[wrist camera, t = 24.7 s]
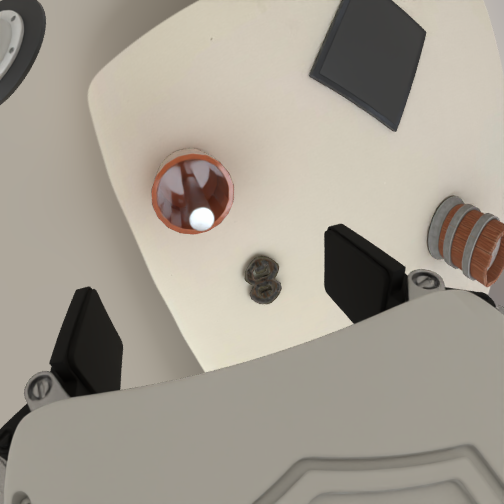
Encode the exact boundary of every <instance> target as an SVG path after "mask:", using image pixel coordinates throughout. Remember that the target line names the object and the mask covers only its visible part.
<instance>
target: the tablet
mask: <svg viewBox="0 0 504 504" xmlns="http://www.w3.org/2000/svg"><path fill="white" fill-rule="evenodd" d="M425 36H426V31H425V30H424V29H423V28H422V27H421V26H420V25H419V24H418V23H417V22H416V21H414V20H413V19H412V18H411V17H410V16H409V15H408V14H407V13H406V12H405V11H404V10H402V9H401V8H400V7H399V6H398V5H397V4H395V3H394V2H393V1H392V0H342V1H341V4H340V6H339V8H338V10H337V13H336V15H335V17H334V19H333V22H332V24H331V26H330V29H329V31H328V33H327V35H326V38H325V40H324V42H323V45H322V47H321V49H320V51H319V54H318V56H317V58H316V61H315V63H314V65H313V68H312V70H311V72H310V75H309V76H310V77H311V78H313V79H315V80H317V81H319V82H320V83H322V84H324V85H325V86H327V87H329V88H330V89H332V90H334V91H335V92H337V93H339V94H340V95H342V96H343V97H345V98H347V99H348V100H350V101H351V102H353V103H354V104H356V105H357V106H359V107H360V108H362V109H363V110H365V111H366V112H368V113H369V114H370V115H372V116H373V117H375V118H376V119H377V120H379V121H380V122H381V123H383V124H384V125H386V126H387V127H388V128H389V129H391V130H392V131H395V132H396V131H397V128H398V125H399V123H400V120H401V117H402V114H403V111H404V108H405V105H406V102H407V99H408V96H409V93H410V90H411V86H412V83H413V80H414V77H415V73H416V70H417V66H418V63H419V59H420V55H421V52H422V48H423V44H424V40H425Z"/></svg>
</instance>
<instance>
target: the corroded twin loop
mask: <svg viewBox="0 0 504 504" xmlns="http://www.w3.org/2000/svg"><path fill="white" fill-rule="evenodd" d="M266 265H267V267H268V272H269V274H268V275H266V276H263V277H260V278H258V279H254V275H253V271H254V269H255V272H256V274H260V273H263V272H265V271H266ZM278 270H279V265H278V264H277V263H276V262H275V261H274V260H272V259H270V258H268V257H263V256H260V257H257V258H255V259H254V260H253V261H252V262H251V263H250V265H249V266H248V268H247V269H246V271H245V281H246V282H248V283H249V284H251V285H254V286H253V289H252V290H251V292H250V296H251V299H252V300H254V301H255V302H257V303H259V304H270V303H272V302H273V301H274V300H275V299H276V298H277V297H278V295H279V294H280V291H281V289H282V288H281V283H280V282H278V281H276V280H275V277H276V276H277V273H278ZM268 286H271V287H272V290H265V291H263V292H262V294H261V296H260V292H259V290H260V289H262V288H266V287H268Z"/></svg>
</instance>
